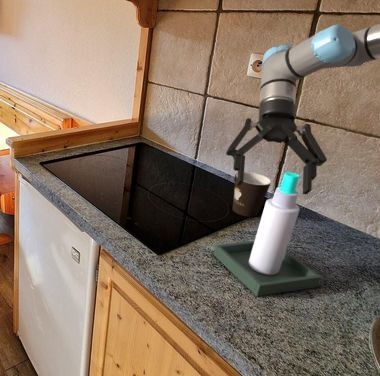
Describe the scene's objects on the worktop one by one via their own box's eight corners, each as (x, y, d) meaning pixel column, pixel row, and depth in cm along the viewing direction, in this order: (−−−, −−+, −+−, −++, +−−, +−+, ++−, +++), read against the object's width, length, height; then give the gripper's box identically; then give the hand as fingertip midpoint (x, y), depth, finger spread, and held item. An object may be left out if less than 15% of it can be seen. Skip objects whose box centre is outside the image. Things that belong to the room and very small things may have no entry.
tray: (317, 287, 83) (321, 276, 82) (256, 296, 80) (260, 285, 79) (267, 248, 96) (270, 238, 95) (213, 254, 93) (215, 245, 92)
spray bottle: (247, 270, 87) (274, 176, 77) (248, 256, 91) (274, 166, 82) (279, 279, 84) (311, 183, 75) (278, 264, 89) (308, 172, 80)
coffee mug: (264, 221, 108) (273, 187, 104) (229, 215, 110) (237, 181, 106) (258, 202, 118) (267, 170, 114) (226, 197, 120) (234, 166, 116)
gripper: (328, 119, 97) (328, 201, 90) (218, 109, 103) (210, 185, 97) (344, 102, 90) (345, 189, 83) (224, 92, 96) (216, 173, 90)
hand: (272, 187), depth 90 cm, fingers open, 13 cm apart
